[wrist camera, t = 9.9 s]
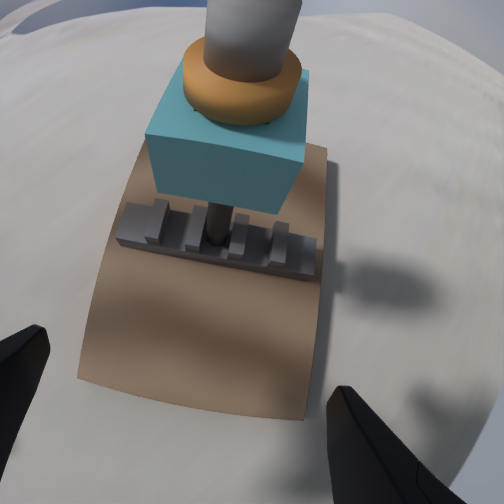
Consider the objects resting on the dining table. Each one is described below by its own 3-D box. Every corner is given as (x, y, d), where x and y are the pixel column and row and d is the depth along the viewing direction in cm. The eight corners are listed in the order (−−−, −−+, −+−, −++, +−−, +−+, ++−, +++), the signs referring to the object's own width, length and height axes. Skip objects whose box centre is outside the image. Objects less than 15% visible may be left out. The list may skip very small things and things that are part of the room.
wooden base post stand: (296, 416, 18) (531, 513, 2) (85, 376, 17) (-155, 376, 1) (321, 158, 25) (419, -17, 9) (157, 127, 24) (145, -71, 8)
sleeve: (277, 215, 10) (303, 163, 7) (157, 192, 10) (144, 133, 7) (287, 127, 11) (308, 70, 9) (188, 108, 11) (188, 48, 8)
